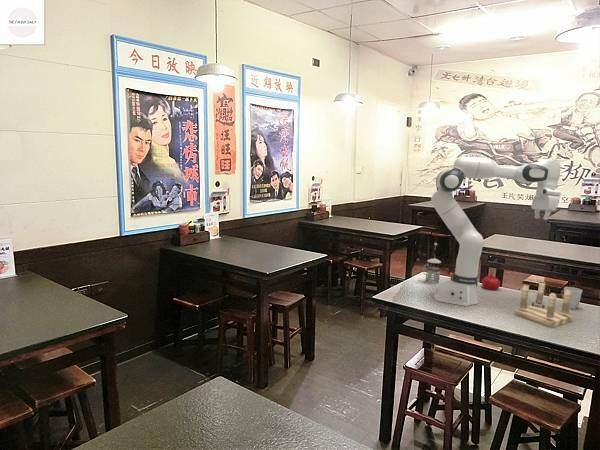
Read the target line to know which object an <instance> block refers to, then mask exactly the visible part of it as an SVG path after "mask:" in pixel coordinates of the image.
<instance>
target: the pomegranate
mask: <svg viewBox="0 0 600 450" xmlns="http://www.w3.org/2000/svg"><path fill="white" fill-rule="evenodd" d="M481 286H482V287H483V288H484V289H487V290H490V291H494V290H495V291H496V290H498V289H500V286H501V281H500V279H498V276H495V275H493V273H492V272H490V274H488V275H486V276H484V278H483V279H482V280H481Z"/></svg>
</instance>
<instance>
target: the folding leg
mask: <svg viewBox="0 0 600 450" xmlns="http://www.w3.org/2000/svg"><path fill="white" fill-rule="evenodd" d="M546 284H547V282H545V281H542V280H540V281H539V282H538V287H537V288H538V289H537V293H536V299H535V301H534V304H536V305H543V298H544V294H545V290H546Z"/></svg>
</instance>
